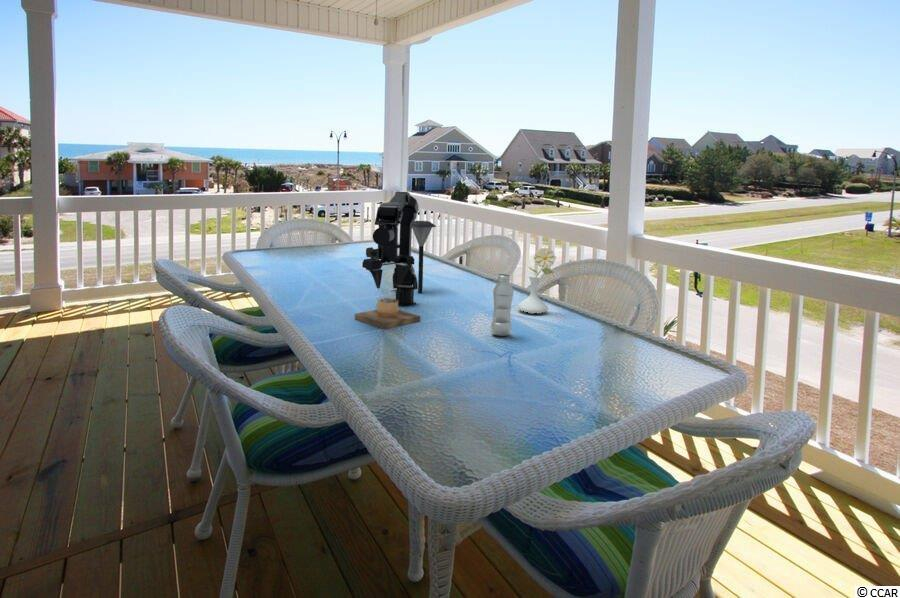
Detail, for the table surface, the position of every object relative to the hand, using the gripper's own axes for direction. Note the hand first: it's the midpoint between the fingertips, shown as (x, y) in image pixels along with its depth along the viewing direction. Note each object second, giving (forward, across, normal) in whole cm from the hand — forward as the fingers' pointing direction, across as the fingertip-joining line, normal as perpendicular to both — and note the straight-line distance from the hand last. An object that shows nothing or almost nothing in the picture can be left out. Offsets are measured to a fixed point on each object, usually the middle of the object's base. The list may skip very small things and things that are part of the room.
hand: (388, 286), depth 208 cm
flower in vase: (+12, -50, +25) cm, 58 cm away
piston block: (+12, +1, 0) cm, 12 cm away
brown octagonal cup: (+10, +1, 0) cm, 10 cm away
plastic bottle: (+12, -16, +37) cm, 43 cm away
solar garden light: (+12, -38, -26) cm, 48 cm away
